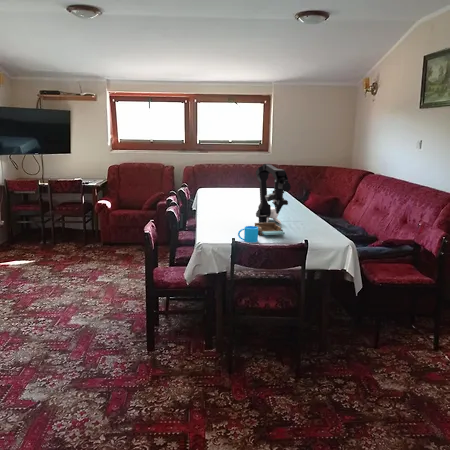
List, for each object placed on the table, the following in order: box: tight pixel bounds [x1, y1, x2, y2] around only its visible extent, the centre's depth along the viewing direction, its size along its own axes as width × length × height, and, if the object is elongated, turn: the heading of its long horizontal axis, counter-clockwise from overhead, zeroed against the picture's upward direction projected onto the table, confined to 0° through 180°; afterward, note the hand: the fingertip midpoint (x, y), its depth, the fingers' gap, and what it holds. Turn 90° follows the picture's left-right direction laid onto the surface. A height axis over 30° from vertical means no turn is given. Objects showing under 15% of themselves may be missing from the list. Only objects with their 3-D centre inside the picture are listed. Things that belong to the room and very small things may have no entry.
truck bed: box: [254, 221, 284, 236], centre depth 268 cm, size 12×16×6 cm
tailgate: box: [261, 231, 286, 236], centre depth 259 cm, size 1×14×7 cm
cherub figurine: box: [267, 206, 282, 225], centre depth 301 cm, size 13×12×20 cm
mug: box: [237, 225, 259, 243], centre depth 247 cm, size 12×8×8 cm
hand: (277, 213), depth 267 cm, fingers closed
